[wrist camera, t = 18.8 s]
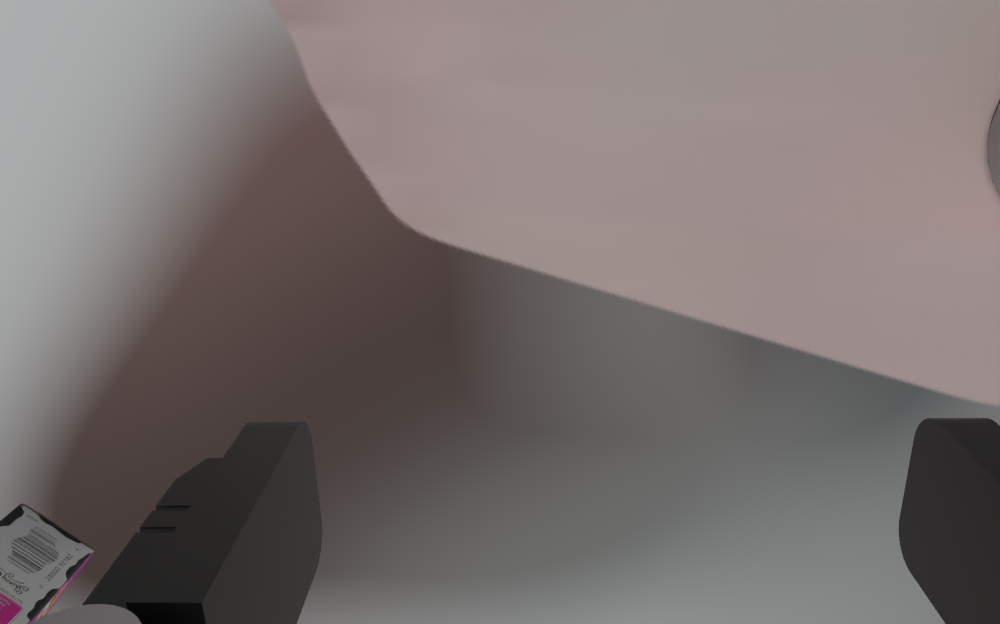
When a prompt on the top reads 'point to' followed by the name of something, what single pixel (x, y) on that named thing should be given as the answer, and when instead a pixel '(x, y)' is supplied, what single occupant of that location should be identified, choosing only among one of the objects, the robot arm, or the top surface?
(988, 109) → the top surface
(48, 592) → the candy bar box
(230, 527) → the robot arm
